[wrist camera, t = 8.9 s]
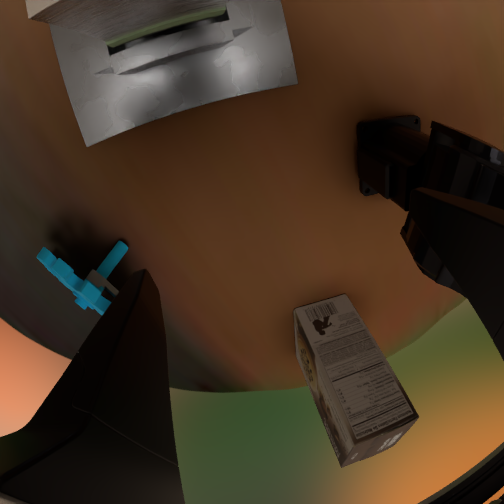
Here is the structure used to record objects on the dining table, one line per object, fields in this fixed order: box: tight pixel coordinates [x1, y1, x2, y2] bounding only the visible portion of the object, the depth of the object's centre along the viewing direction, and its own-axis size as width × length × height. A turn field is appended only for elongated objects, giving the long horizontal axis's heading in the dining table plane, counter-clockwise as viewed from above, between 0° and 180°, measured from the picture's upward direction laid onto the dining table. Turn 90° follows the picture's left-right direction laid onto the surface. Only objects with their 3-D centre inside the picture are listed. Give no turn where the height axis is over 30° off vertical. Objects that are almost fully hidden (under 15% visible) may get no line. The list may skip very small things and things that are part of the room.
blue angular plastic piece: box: [37, 241, 128, 315], centre depth 21 cm, size 11×6×10 cm
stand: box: [49, 0, 298, 147], centre depth 11 cm, size 14×14×7 cm
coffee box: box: [294, 294, 419, 468], centre depth 27 cm, size 9×6×16 cm
